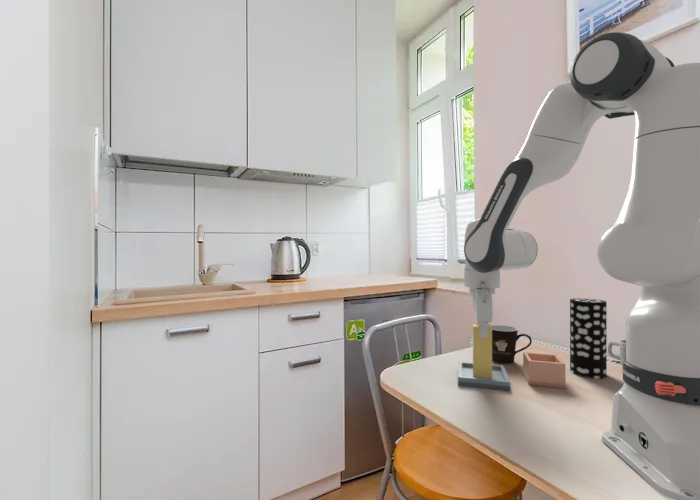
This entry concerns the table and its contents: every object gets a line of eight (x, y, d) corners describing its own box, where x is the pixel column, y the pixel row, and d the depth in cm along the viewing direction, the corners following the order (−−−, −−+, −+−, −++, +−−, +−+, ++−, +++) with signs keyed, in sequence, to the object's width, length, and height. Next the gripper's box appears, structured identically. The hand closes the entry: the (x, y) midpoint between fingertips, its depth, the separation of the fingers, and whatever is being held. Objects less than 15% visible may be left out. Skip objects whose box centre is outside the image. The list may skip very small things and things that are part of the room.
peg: (492, 378, 90) (492, 328, 90) (473, 376, 91) (473, 326, 91) (490, 372, 94) (490, 324, 94) (472, 371, 95) (472, 323, 95)
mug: (652, 366, 102) (652, 343, 102) (643, 370, 99) (643, 346, 99) (612, 357, 111) (612, 336, 111) (602, 361, 107) (602, 339, 107)
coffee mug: (481, 359, 108) (481, 327, 108) (496, 354, 114) (496, 323, 114) (518, 370, 99) (518, 334, 99) (533, 363, 104) (533, 330, 104)
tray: (510, 390, 84) (510, 382, 84) (458, 385, 88) (458, 377, 88) (503, 372, 97) (503, 365, 97) (458, 368, 101) (458, 361, 101)
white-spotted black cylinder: (594, 368, 100) (594, 298, 100) (613, 379, 92) (613, 303, 92) (564, 367, 101) (564, 298, 101) (580, 378, 93) (580, 302, 93)
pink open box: (565, 388, 86) (565, 364, 86) (528, 384, 88) (528, 360, 88) (556, 377, 93) (556, 354, 93) (523, 373, 96) (523, 351, 96)
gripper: (498, 284, 82) (499, 343, 82) (491, 277, 101) (491, 325, 101) (470, 283, 84) (470, 341, 84) (468, 277, 103) (468, 324, 103)
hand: (482, 332), depth 92 cm, fingers open, 8 cm apart
